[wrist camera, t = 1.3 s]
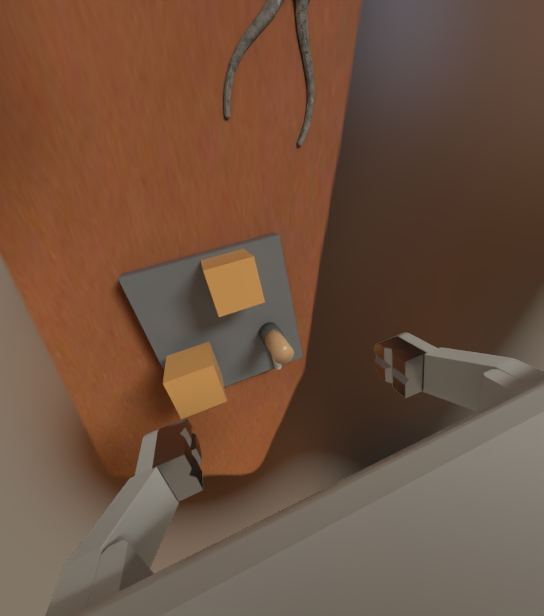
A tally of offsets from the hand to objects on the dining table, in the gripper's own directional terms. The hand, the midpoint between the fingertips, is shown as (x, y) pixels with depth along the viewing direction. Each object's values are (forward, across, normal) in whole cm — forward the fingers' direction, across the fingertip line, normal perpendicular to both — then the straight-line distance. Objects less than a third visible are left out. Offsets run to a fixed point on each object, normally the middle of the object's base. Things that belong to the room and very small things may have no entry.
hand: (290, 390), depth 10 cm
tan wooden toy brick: (+21, 0, 0) cm, 21 cm away
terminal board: (+23, +2, +6) cm, 24 cm away
